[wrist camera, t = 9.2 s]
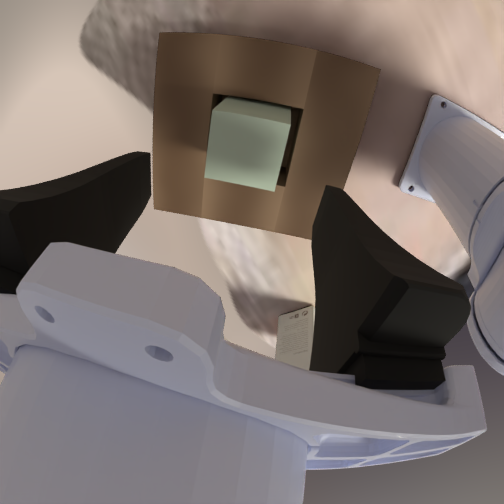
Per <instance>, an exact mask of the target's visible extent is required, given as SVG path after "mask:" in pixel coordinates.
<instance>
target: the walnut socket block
mask: <svg viewBox="0 0 504 504" xmlns="http://www.w3.org/2000/svg"><path fill="white" fill-rule="evenodd" d="M380 70H381V69H378V68H375V67H372V66H370V65H367V64H364V63H361V62H358V61H354V60H351V59H348V58H345V57H341V56H338V55H334V54H331V53H327V52H323V51H319V50H315V49H311V48H307V47H302V46H297V45H293V44H288V43H282V42H277V41H271V40H265V39H258V38H251V37H243V36H234V35H223V34H209V33H185V32H162V33H159V41H158V51H157V62H156V75H155V90H154V111H153V198H154V209H157V210H162V211H168V212H173V213H179V214H184V215H190V216H195V217H200V218H205V219H211V220H216V221H221V222H226V223H231V224H237V225H242V226H247V227H252V228H257V229H262V230H267V231H272V232H277V233H281V234H286V235H291V236H296V237H301V238H305V239H310V240H312V226H313V223H314V220H315V217H316V214H317V211H318V208H319V205H320V202H321V199H322V196H323V192H324V189H325V186H326V185H330V186H334V187H338V188H341V189H342V190H343V189H344V186H345V183H346V180H347V177H348V174H349V172H350V169H351V166H352V163H353V160H354V157H355V154H356V151H357V148H358V144H359V141H360V138H361V135H362V132H363V129H364V126H365V122H366V119H367V116H368V112H369V109H370V106H371V102H372V99H373V95H374V92H375V88H376V85H377V81H378V78H379V74H380ZM229 95H230V96H237V97H244V98H250V99H256V100H262V101H267V102H273V103H278V104H283V105H287V106H291V126H290V130H289V135H288V139H287V143H286V147H285V151H284V155H283V159H282V163H281V167H280V171H279V175H278V179H277V183H276V187H275V191H274V192H273V191H269V190H264V189H259V188H255V187H250V186H245V185H240V184H235V183H230V182H225V181H220V180H215V179H209V178H204V176H205V167H206V157H207V149H208V140H209V132H210V124H211V116H212V110H213V109H214V108H215V107H216V106H217V105H219V104H220V103H221V102H222V101H223V100H224V99H226V98H227V97H228V96H229Z"/></svg>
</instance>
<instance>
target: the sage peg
mask: <svg viewBox="0 0 504 504" xmlns="http://www.w3.org/2000/svg"><path fill="white" fill-rule="evenodd" d="M290 126H291V106H287V105H283V104H278V103H273V102H267V101H262V100H256V99H250V98H244V97H237V96H230V95H229V96H228V97H227V98H226V99H224V100H223V101H222V102H221V103H220V104H219V105H217V106H216V107H215V108H214V109H213V110H212V116H211V124H210V132H209V140H208V149H207V157H206V167H205V176H204V178H209V179H215V180H220V181H225V182H230V183H235V184H240V185H245V186H250V187H255V188H259V189H264V190H269V191H273V192H274V191H275V187H276V183H277V179H278V175H279V171H280V167H281V163H282V159H283V155H284V151H285V147H286V143H287V139H288V135H289V130H290Z"/></svg>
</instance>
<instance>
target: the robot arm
mask: <svg viewBox="0 0 504 504" xmlns="http://www.w3.org/2000/svg"><path fill="white" fill-rule="evenodd" d="M443 101H444V103H445V104H444V107H441V103H442V102H443ZM150 164H151V163H150V153H147V152H138V151H137V152H132V153H128V154H125V155H122V156H119V157H116V158H114V159H111V160H109V161H106V162H103V163H101V164H98V165H95V166H93V167H90V168H87V169H85V170H82V171H80V172H77V173H74V174H71V175H68V176H65V177H61V178H58V179H55V180H51V181H47V182H43V183H39V184H35V185H31V186H25V187H20V188H15V189H8V190H0V371H2V372H3V373H5V376H4V379H3V381H2V383H1V385H0V504H303V495H304V485H305V472H306V470H316V469H337V468H338V469H339V468H352V467H362V466H372V465H379V464H387V463H393V462H400V461H406V460H412V459H417V458H423V457H429V456H434V455H438V454H441V453H443V452H445V451H448V450H450V449H452V448H454V447H456V446H458V445H461V444H463V443H465V442H467V441H468V440H471V439H473V438H475V437H476V436H478V435H480V434H482V433H484V432H485V431H486V430H487V426H486V421H485V415H484V409H483V404H482V400H481V395H480V391H479V386H478V383H477V378H476V374H475V370H474V367H473V366H471V365H452V366H448V367H446V368H443V366H442V362H441V360H443V359H444V358H445V356H446V353H445V350H444V346H445V345H446V344H447V343H448V342H449V341H450V340H451V339H452V338H453V337H454V336H455V335H456V334H457V333H458V332H459V331H460V330H461V328H462V327H463V326H464V325H465V323H466V322H467V324H468V329H469V332H470V335H471V338H472V340H473V342H474V344H475V346H476V348H477V350H478V351H479V353H480V354H481V356H482V357H483V358H484V360H485V361H486V362H487V363H488V364H489V365H490V366H491V367H492V368H493V369H495V370H496V371H497V372H499V373H500V374H502V375H504V133H503V132H501V131H500V130H498V129H497V128H495V127H494V126H492V125H491V124H489V123H487V122H486V121H484V120H483V119H481V118H479V117H478V116H476V115H474V114H473V113H471V112H469V111H467V110H466V109H464V108H462V107H460V106H459V105H457V104H455V103H453V102H451V101H449V100H447V99H445V98H443V97H441V96H439V95H437V94H435V95H433V96H431V98H430V101H429V105H428V108H427V111H426V114H425V117H424V119H423V122H422V125H421V128H420V131H419V134H418V136H417V139H416V142H415V144H414V147H413V150H412V152H411V155H410V157H409V160H408V163H407V165H406V168H405V170H404V172H403V175H402V177H401V180H400V182H399V188H400V190H401V191H402V192H404V193H407V194H410V195H413V196H416V197H419V198H422V199H425V200H428V201H430V202H433V203H436V204H437V205H438V207H439V208H440V210H441V211H442V213H443V214H444V216H445V217H446V219H447V220H448V222H449V223H450V225H451V227H452V228H453V230H454V231H455V233H456V235H457V236H458V238H459V240H460V241H461V243H462V245H463V246H464V248H465V250H466V251H467V253H468V255H469V257H470V259H471V268H470V270H469V272H468V276H469V278H470V280H471V283H472V285H473V287H474V289H475V291H474V292H473V294H472V295H471V297H470V299H468V296H467V294H466V292H465V289H464V287H463V286H462V285H461V284H459V283H457V282H455V281H454V280H452V279H450V278H448V277H446V276H444V275H442V274H441V273H439V272H437V271H436V270H434V269H432V268H431V267H429V266H428V265H426V264H424V263H423V262H422V261H420V260H419V259H417V258H416V257H414V256H413V255H412V254H410V253H409V252H408V251H406V250H405V249H403V248H402V247H401V246H400V245H398V244H397V243H396V242H395V241H394V240H393V239H391V238H390V237H389V236H388V235H387V234H386V233H384V232H383V231H382V230H381V229H380V228H379V227H378V226H377V225H376V224H375V223H374V222H373V221H372V220H371V219H370V218H369V217H368V216H367V215H366V214H365V213H364V212H363V210H362V209H361V208H360V207H359V206H358V205H357V204H356V203H355V202H354V201H353V200H352V199H351V198H350V196H349V195H348V194H347V193H346V192H345V191H343V190H342V189H341V188H338V187H334V186H330V185H326V186H325V189H324V192H323V196H322V199H321V202H320V205H319V208H318V211H317V214H316V217H315V220H314V223H313V226H312V258H313V268H314V280H315V296H316V301H315V320H314V332H313V343H312V352H311V360H310V367H309V370H305V369H302V368H299V367H296V366H293V365H290V364H287V363H284V362H281V361H279V360H276V359H273V358H270V357H267V356H265V355H262V354H259V353H257V352H254V351H251V350H249V349H246V348H243V347H241V346H238V345H236V344H233V343H231V342H228V341H226V340H224V336H223V329H224V322H225V312H224V308H223V305H222V301H221V298H220V297H219V296H218V295H217V294H216V293H215V292H214V291H213V290H212V289H211V288H210V287H209V286H208V285H206V284H205V283H204V282H203V281H202V280H201V279H200V278H199V277H196V276H194V275H192V274H189V273H187V272H184V271H182V270H179V269H177V268H175V267H171V266H167V265H162V264H158V263H153V262H149V261H144V260H140V259H135V258H131V257H127V256H122V255H119V254H115V253H116V251H117V249H118V248H119V246H120V245H121V243H122V242H123V240H124V239H125V237H126V236H127V234H128V233H129V231H130V230H131V228H132V227H133V226H134V224H135V223H136V221H137V220H138V218H139V217H140V215H141V214H142V212H143V210H144V209H145V207H146V205H147V203H148V200H149V199H150V197H151V168H150V166H151V165H150ZM410 186H413V187H412V189H408V188H409V187H410Z"/></svg>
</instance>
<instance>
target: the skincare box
mask: <svg viewBox="0 0 504 504" xmlns="http://www.w3.org/2000/svg"><path fill="white" fill-rule="evenodd" d="M314 320H315V308H314V306H309V307H306V308H303V309H300V310H297V311H294V312H290V313H287V314H284V315H280V316H279V319H278V332H277V344H276V355H275V359H276V360H279V361H281V362H284V363H287V364H290V365H293V366H296V367H299V368H302V369H305V370H309V367H310V360H311V352H312V343H313V332H314Z"/></svg>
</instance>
